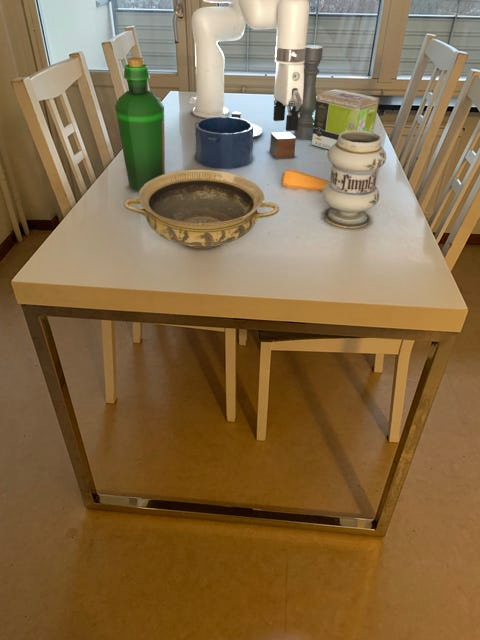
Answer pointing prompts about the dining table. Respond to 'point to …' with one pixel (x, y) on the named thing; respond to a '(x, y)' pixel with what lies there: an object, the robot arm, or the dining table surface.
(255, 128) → the lid
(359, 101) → the tea box
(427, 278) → the dining table surface
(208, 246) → the ceramic bowl
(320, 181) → the carrot
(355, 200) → the apothecary jar
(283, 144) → the block
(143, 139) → the bottle
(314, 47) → the candle holder
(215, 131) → the pot
